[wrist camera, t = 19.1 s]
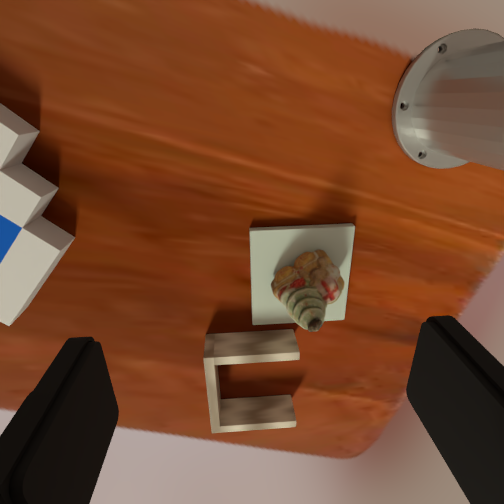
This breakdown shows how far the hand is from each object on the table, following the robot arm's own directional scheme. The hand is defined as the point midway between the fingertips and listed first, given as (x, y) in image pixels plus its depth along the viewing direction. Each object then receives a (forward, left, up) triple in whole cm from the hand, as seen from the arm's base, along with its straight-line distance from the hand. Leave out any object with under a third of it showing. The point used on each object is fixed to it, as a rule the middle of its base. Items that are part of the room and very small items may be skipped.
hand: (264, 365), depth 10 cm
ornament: (-7, +12, -28) cm, 31 cm away
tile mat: (-7, +13, -28) cm, 32 cm away
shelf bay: (-1, +28, -28) cm, 40 cm away
